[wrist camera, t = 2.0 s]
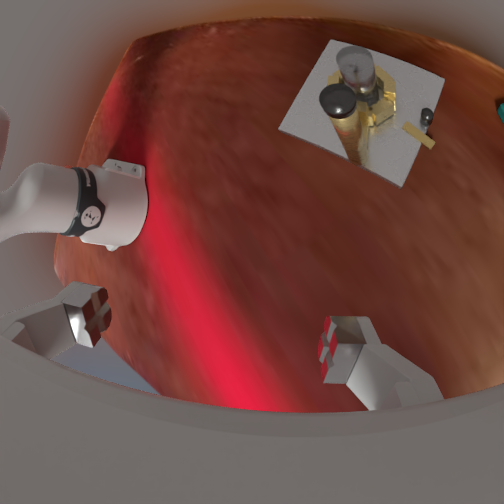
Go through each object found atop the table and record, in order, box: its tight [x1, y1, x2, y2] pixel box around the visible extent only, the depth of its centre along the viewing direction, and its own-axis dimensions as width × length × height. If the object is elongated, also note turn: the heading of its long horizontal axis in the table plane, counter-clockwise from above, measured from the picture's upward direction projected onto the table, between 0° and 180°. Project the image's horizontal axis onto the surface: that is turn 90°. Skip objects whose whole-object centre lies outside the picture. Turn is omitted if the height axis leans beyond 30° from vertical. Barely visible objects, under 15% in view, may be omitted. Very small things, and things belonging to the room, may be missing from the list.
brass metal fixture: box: [319, 64, 396, 165], centre depth 23 cm, size 14×8×14 cm, turn 167°
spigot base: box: [279, 40, 445, 189], centre depth 26 cm, size 20×18×10 cm
